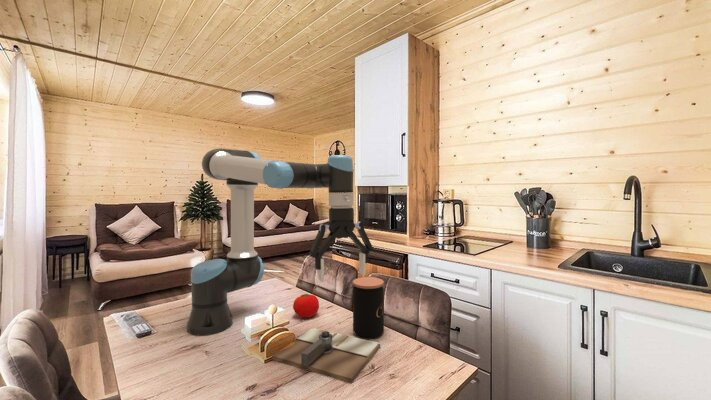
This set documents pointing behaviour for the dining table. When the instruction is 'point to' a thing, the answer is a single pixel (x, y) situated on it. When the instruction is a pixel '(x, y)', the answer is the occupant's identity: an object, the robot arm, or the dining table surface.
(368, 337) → the coffee jar
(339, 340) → the lock board
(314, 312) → the tomato
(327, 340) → the swing bar
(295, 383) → the dining table surface
